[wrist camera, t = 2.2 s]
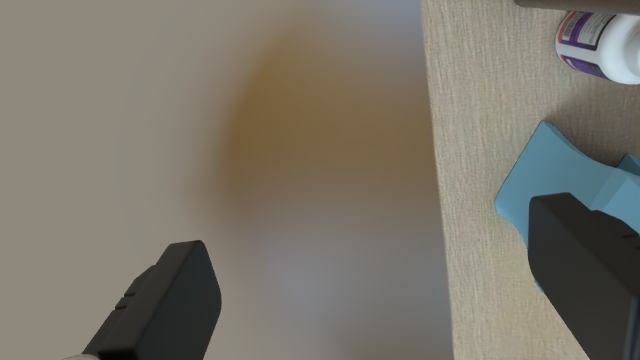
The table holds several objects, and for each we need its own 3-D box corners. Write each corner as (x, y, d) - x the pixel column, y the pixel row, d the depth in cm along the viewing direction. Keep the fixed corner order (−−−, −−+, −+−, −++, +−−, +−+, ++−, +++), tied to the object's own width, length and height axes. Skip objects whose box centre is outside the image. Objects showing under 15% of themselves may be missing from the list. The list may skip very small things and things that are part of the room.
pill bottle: (626, 53, 35) (724, 74, 26) (559, 78, 36) (631, 107, 27) (617, -13, 33) (720, -14, 24) (547, 16, 34) (620, 25, 25)
